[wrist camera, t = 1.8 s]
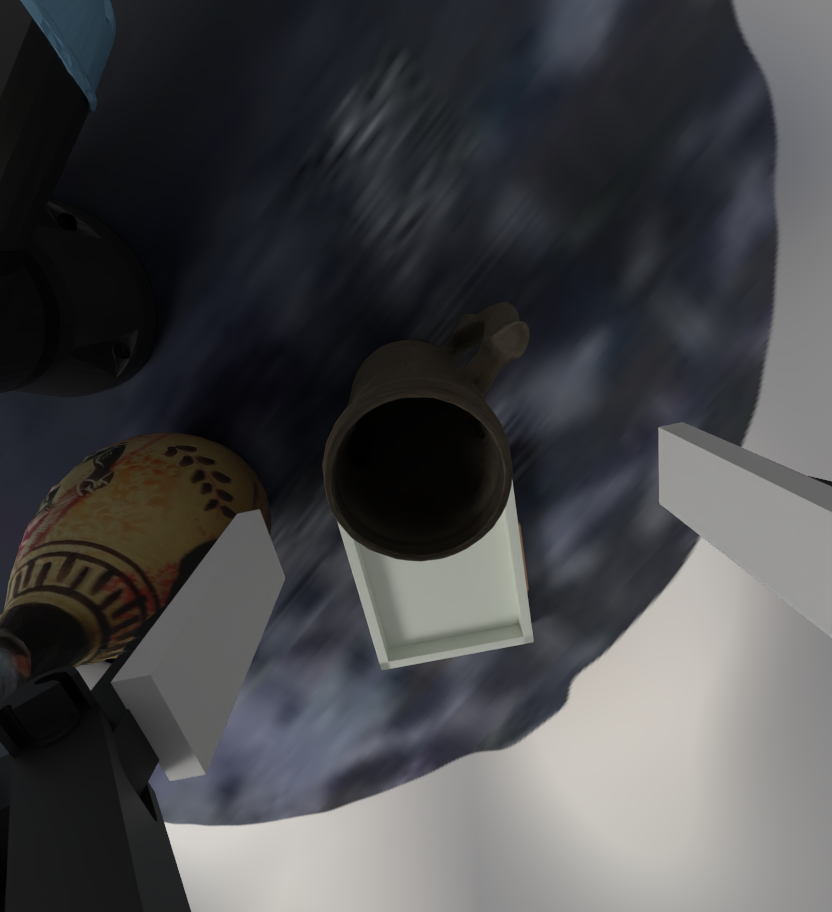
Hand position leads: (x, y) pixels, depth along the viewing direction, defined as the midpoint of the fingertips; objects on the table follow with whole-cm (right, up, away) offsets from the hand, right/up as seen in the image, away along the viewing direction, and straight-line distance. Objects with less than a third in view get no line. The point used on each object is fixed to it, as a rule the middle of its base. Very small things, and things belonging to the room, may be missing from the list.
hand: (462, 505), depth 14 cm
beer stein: (-1, +9, +25) cm, 27 cm away
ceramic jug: (-22, -2, +28) cm, 36 cm away
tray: (+1, -10, +32) cm, 33 cm away
